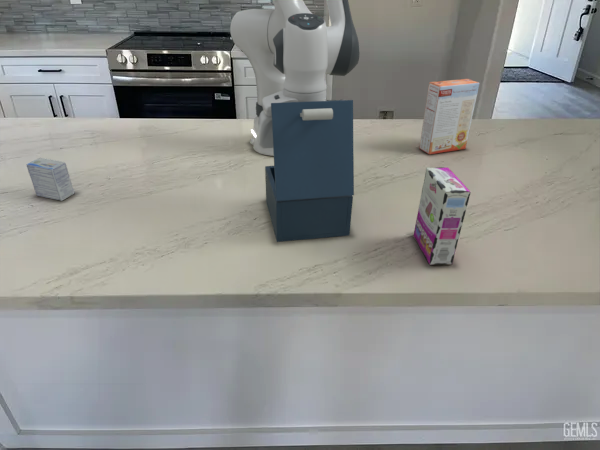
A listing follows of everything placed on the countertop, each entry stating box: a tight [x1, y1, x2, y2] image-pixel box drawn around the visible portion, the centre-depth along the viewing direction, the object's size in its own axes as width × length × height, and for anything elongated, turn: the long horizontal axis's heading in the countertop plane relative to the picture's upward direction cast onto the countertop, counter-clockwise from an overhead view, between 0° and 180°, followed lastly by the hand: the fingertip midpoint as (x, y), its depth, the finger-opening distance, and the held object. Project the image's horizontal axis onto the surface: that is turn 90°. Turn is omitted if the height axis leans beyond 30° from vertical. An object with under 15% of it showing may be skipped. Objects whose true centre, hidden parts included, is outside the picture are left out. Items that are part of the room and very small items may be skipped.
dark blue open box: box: [264, 165, 354, 243], centre depth 100 cm, size 18×16×10 cm
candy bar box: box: [412, 166, 472, 266], centre depth 88 cm, size 11×5×16 cm, turn 5°
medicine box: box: [26, 157, 75, 202], centre depth 107 cm, size 8×4×9 cm, turn 71°
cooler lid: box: [271, 99, 355, 201], centre depth 85 cm, size 19×16×5 cm
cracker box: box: [419, 78, 480, 155], centre depth 134 cm, size 14×6×21 cm, turn 111°
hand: (303, 162), depth 99 cm, fingers open, 8 cm apart
